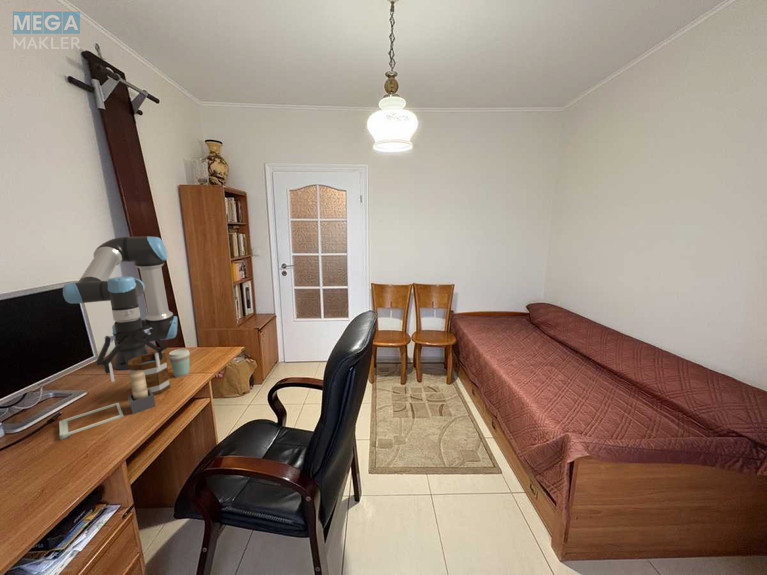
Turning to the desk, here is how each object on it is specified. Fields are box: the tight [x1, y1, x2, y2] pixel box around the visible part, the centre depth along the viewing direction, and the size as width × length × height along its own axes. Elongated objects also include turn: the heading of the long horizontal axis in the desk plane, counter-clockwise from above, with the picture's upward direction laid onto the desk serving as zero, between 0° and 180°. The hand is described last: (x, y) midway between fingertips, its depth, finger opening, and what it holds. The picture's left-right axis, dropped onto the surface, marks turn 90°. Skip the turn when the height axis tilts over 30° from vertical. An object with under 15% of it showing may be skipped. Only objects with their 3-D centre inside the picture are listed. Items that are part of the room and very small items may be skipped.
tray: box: [58, 402, 124, 441], centre depth 109 cm, size 12×16×1 cm
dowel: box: [128, 370, 148, 400], centre depth 116 cm, size 4×4×14 cm
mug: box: [128, 351, 171, 397], centre depth 131 cm, size 20×14×15 cm
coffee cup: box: [167, 348, 191, 378], centre depth 142 cm, size 8×8×12 cm
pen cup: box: [127, 389, 156, 415], centre depth 117 cm, size 7×7×6 cm
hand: (136, 374), depth 114 cm, fingers open, 13 cm apart
